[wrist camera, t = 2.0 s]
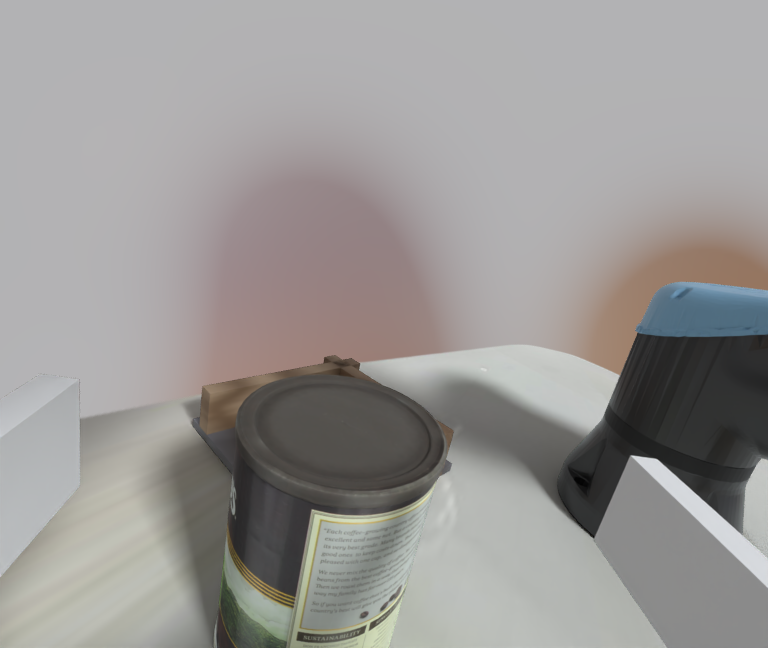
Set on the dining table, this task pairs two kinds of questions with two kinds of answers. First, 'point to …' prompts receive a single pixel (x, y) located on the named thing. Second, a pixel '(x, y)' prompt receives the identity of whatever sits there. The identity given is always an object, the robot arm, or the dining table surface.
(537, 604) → the dining table surface
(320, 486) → the coffee can
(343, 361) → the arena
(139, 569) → the dining table surface
